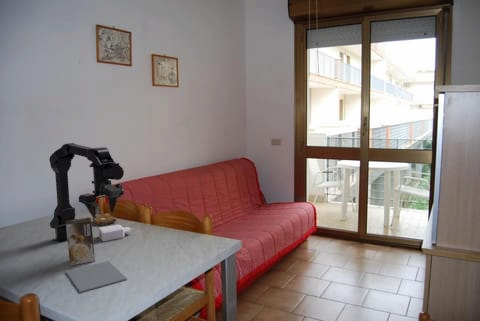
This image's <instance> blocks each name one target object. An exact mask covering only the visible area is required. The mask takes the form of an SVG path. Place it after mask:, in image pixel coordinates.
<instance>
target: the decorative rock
mask: <svg viewBox="0 0 480 321" xmlns="http://www.w3.org/2000/svg"><path fill="white" fill-rule="evenodd" d="M91 221H93V222H94V224H96V225H97V226H100V227H107V226H110V225H112V224H113V223H114V222H116V221H117V218H116V217H115V216H112V215H110V213H109V212H107V213H101V214H96V217H95V218H93V217H92V218H91Z"/></svg>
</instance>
